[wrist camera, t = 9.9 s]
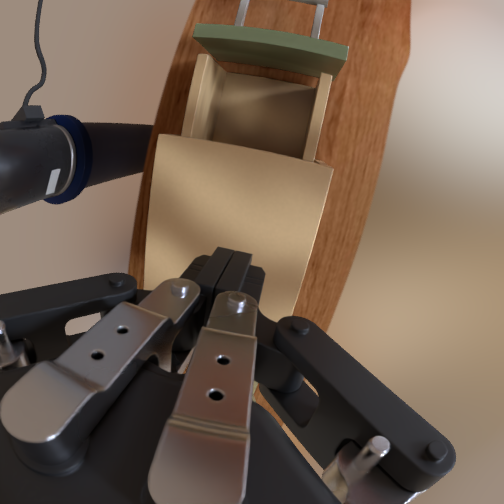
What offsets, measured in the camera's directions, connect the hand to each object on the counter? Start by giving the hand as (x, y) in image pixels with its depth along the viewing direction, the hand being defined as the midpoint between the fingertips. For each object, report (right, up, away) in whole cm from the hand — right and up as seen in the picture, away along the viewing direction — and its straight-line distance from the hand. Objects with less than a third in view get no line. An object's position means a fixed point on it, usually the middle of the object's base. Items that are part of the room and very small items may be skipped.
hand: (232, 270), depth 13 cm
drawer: (+2, +15, +11) cm, 19 cm away
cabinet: (0, +4, +17) cm, 17 cm away
